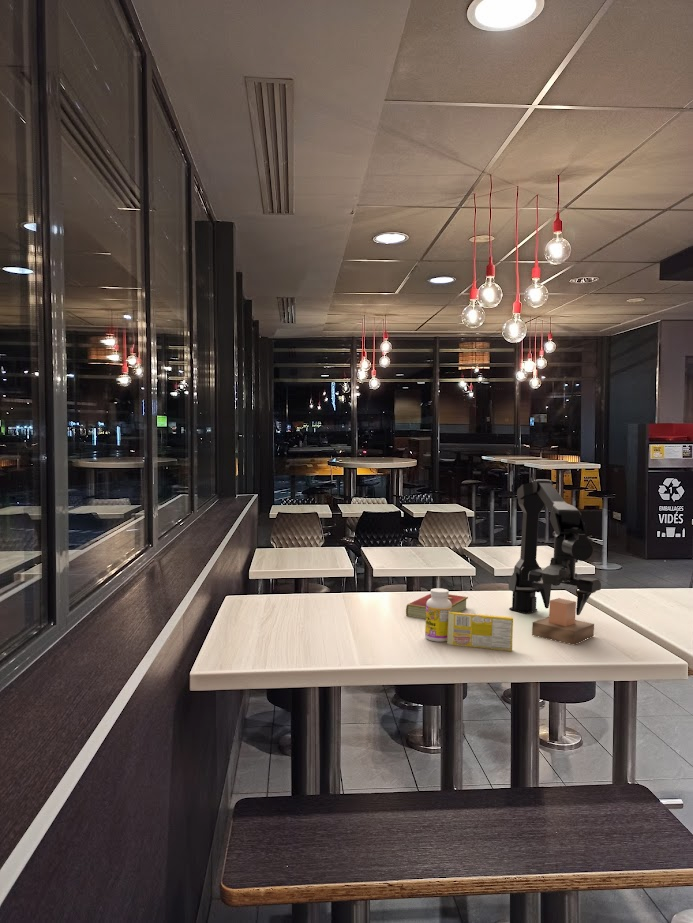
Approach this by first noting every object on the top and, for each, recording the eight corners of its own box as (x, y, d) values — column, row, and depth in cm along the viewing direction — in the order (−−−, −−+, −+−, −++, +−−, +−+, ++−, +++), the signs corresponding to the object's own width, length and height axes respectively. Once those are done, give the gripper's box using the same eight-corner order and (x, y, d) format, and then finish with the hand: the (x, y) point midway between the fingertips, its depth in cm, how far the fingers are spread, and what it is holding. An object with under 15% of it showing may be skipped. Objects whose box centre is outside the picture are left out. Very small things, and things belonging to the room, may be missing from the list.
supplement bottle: (420, 636, 180) (422, 587, 179) (442, 634, 182) (444, 586, 182) (432, 643, 173) (434, 593, 173) (455, 641, 176) (457, 592, 175)
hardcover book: (405, 617, 201) (406, 603, 201) (431, 604, 219) (432, 591, 219) (443, 623, 195) (444, 609, 195) (467, 609, 214) (468, 596, 213)
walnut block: (532, 636, 185) (532, 622, 184) (552, 629, 193) (552, 615, 193) (574, 646, 176) (574, 631, 176) (593, 638, 185) (594, 623, 185)
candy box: (512, 649, 171) (513, 616, 171) (512, 652, 169) (513, 618, 168) (447, 642, 175) (449, 610, 175) (446, 644, 173) (448, 612, 173)
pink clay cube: (548, 622, 185) (549, 600, 185) (558, 619, 188) (559, 598, 188) (565, 626, 181) (566, 604, 181) (574, 623, 185) (576, 601, 184)
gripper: (518, 552, 186) (516, 609, 186) (583, 562, 172) (580, 623, 173) (539, 549, 193) (537, 603, 194) (603, 558, 180) (600, 616, 180)
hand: (562, 611), depth 185 cm, fingers open, 9 cm apart
